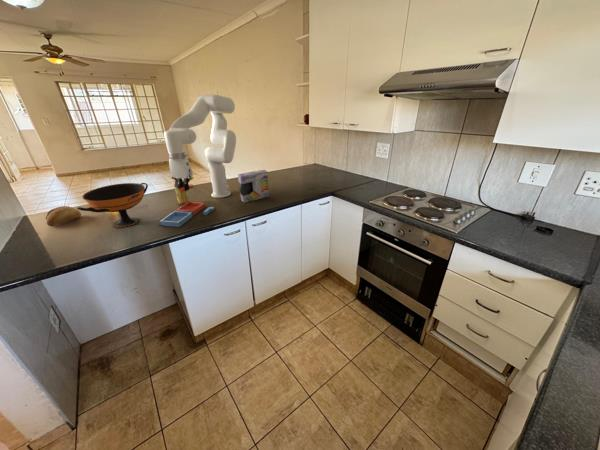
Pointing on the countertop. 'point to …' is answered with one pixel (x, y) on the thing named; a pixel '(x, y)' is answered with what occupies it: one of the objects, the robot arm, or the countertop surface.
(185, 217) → the blue tray
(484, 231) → the countertop surface
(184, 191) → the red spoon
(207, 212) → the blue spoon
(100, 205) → the cup
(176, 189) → the sauce bottle
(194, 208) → the red tray
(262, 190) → the cake pan box
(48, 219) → the bread roll
